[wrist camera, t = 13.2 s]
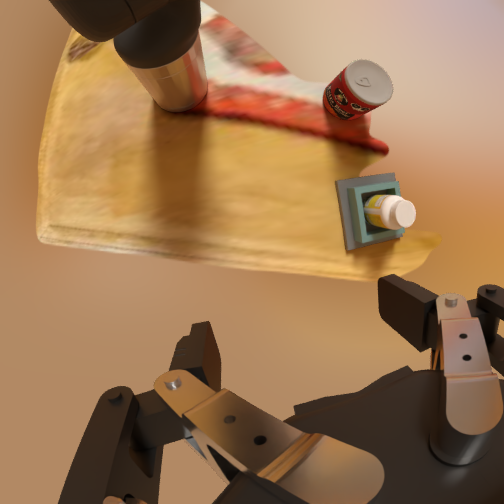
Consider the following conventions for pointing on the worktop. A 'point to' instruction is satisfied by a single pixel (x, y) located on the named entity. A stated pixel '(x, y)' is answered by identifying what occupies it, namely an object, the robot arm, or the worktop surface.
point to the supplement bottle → (388, 211)
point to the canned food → (358, 90)
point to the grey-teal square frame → (352, 209)
